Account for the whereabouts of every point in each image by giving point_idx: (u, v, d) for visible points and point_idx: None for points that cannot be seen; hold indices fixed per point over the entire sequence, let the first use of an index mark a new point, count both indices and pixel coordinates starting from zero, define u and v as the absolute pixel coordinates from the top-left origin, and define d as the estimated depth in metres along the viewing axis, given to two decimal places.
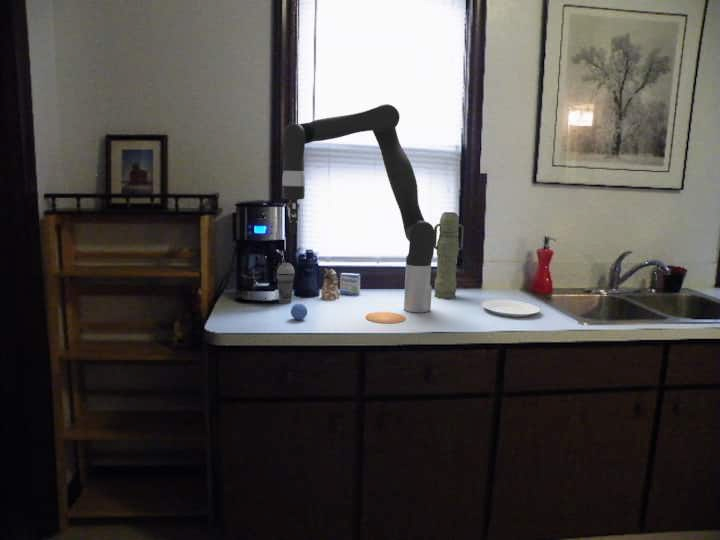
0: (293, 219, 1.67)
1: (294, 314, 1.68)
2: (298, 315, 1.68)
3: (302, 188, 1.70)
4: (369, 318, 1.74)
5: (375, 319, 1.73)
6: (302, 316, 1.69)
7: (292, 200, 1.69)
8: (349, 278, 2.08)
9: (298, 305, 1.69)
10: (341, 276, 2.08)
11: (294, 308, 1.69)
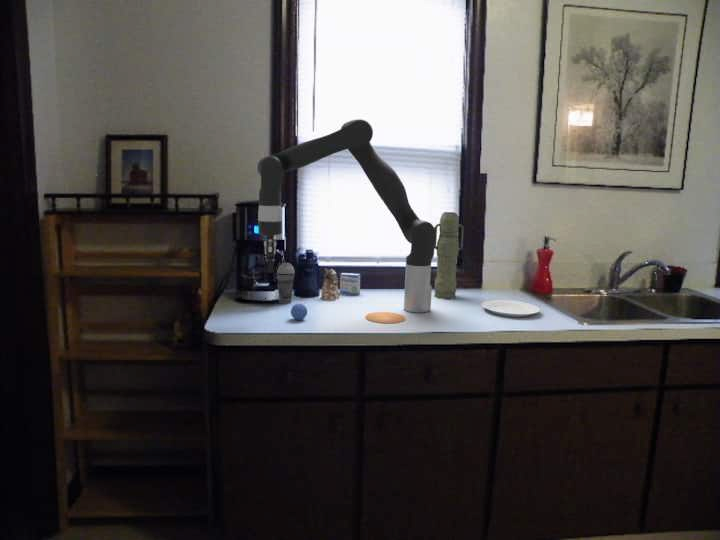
0: (269, 258, 1.63)
1: (294, 314, 1.68)
2: (298, 315, 1.68)
3: (279, 223, 1.62)
4: (369, 318, 1.74)
5: (375, 319, 1.73)
6: (302, 316, 1.69)
7: (268, 236, 1.61)
8: (349, 278, 2.08)
9: (298, 305, 1.69)
10: (341, 276, 2.08)
11: (294, 308, 1.69)
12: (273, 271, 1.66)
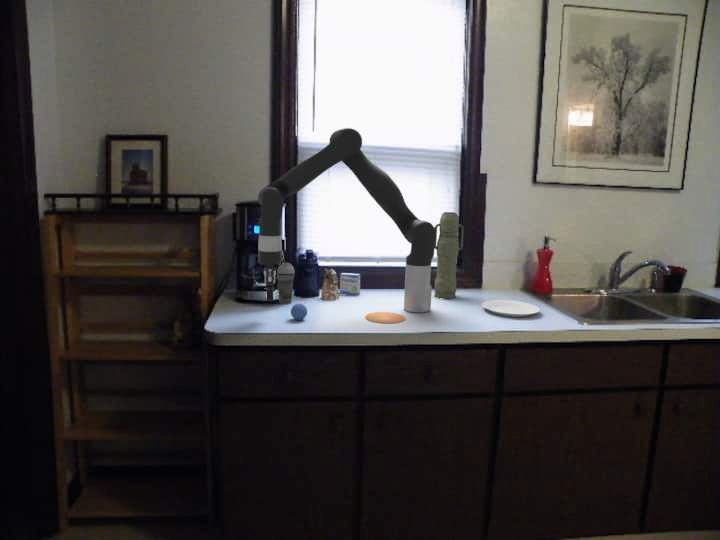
0: (269, 288, 1.64)
1: (294, 314, 1.68)
2: (298, 315, 1.68)
3: (279, 253, 1.64)
4: (369, 318, 1.74)
5: (375, 319, 1.73)
6: (302, 316, 1.69)
7: (268, 266, 1.63)
8: (349, 278, 2.08)
9: (298, 305, 1.69)
10: (341, 276, 2.08)
11: (294, 308, 1.69)
12: None
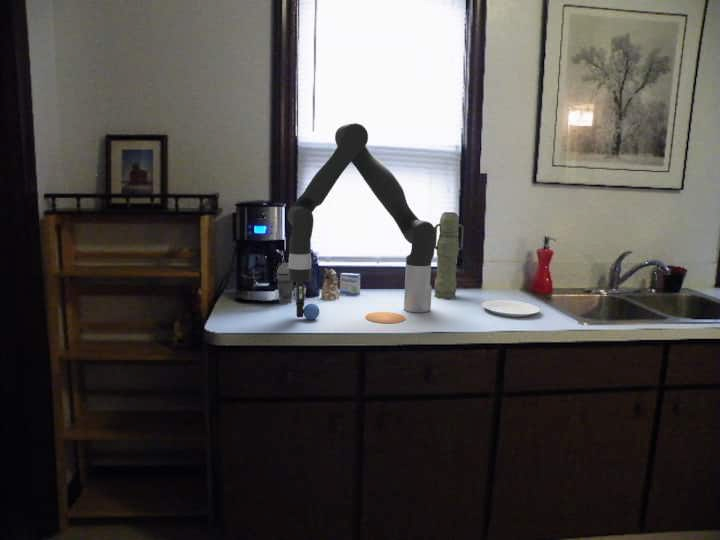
0: (299, 304, 1.67)
1: (309, 309, 1.69)
2: (310, 313, 1.69)
3: (309, 271, 1.67)
4: (369, 318, 1.74)
5: (375, 319, 1.73)
6: (309, 317, 1.69)
7: (299, 284, 1.66)
8: (349, 278, 2.08)
9: (318, 309, 1.71)
10: (341, 276, 2.08)
11: (314, 307, 1.70)
12: None
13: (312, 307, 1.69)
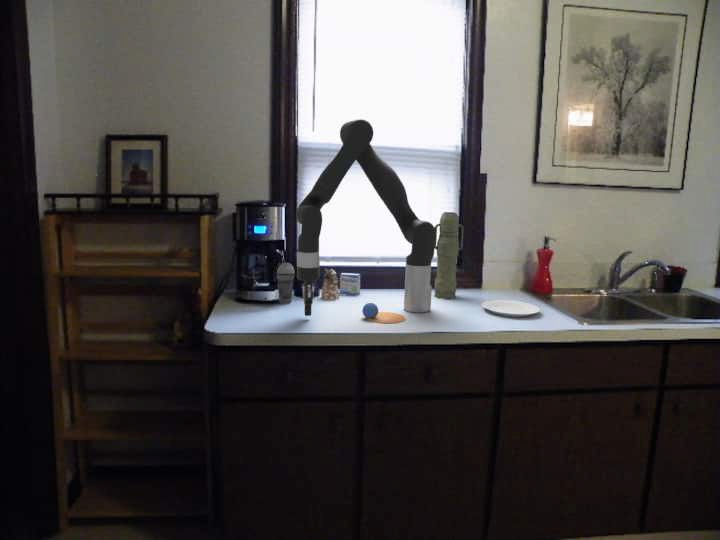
0: (308, 303, 1.68)
1: (374, 308, 1.72)
2: (370, 311, 1.72)
3: (317, 269, 1.67)
4: None
5: (375, 319, 1.73)
6: (367, 312, 1.72)
7: (307, 282, 1.66)
8: (349, 278, 2.08)
9: (376, 315, 1.74)
10: (341, 276, 2.08)
11: (377, 311, 1.73)
12: None
13: (376, 310, 1.73)
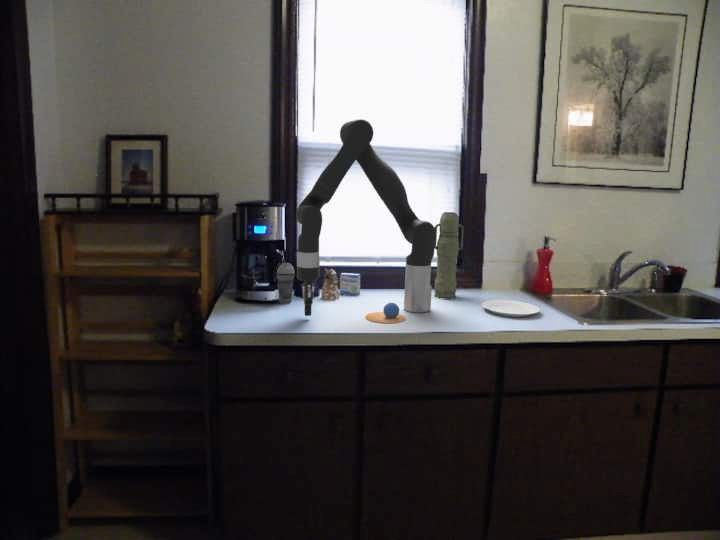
0: (308, 303, 1.68)
1: (391, 316, 1.74)
2: (394, 313, 1.73)
3: (317, 269, 1.67)
4: (369, 318, 1.74)
5: (375, 319, 1.73)
6: (396, 310, 1.73)
7: (307, 282, 1.66)
8: (349, 278, 2.08)
9: (385, 309, 1.74)
10: (341, 276, 2.08)
11: (386, 314, 1.74)
12: None
13: (388, 315, 1.74)
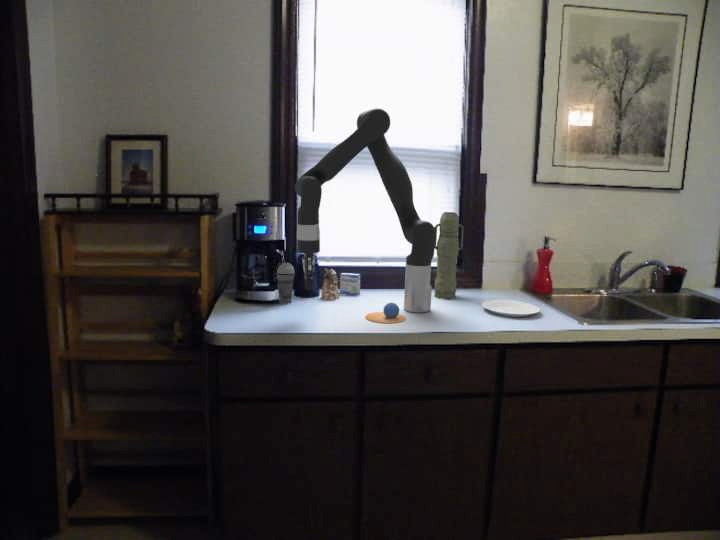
0: (308, 276, 1.66)
1: (391, 316, 1.74)
2: (394, 313, 1.73)
3: (317, 242, 1.65)
4: (369, 318, 1.74)
5: (375, 319, 1.73)
6: (396, 310, 1.73)
7: (308, 255, 1.64)
8: (349, 278, 2.08)
9: (385, 309, 1.74)
10: (341, 276, 2.08)
11: (386, 314, 1.74)
12: None
13: (388, 315, 1.74)
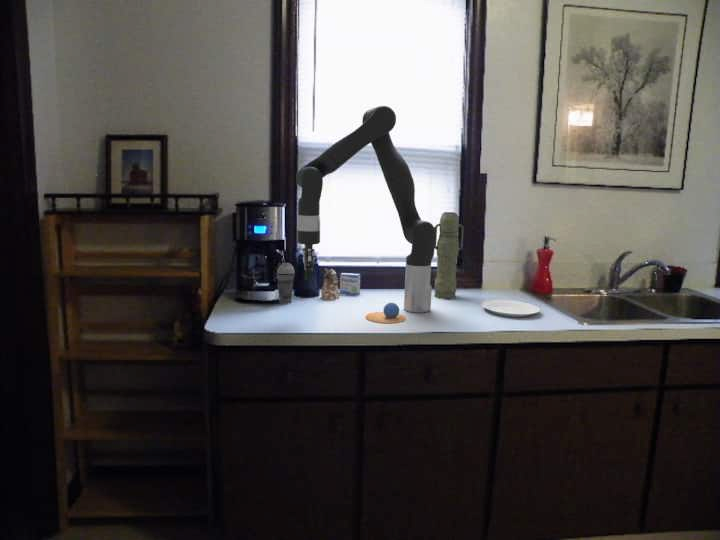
0: (308, 267, 1.65)
1: (391, 316, 1.74)
2: (394, 313, 1.73)
3: (318, 233, 1.65)
4: (369, 318, 1.74)
5: (375, 319, 1.73)
6: (396, 310, 1.73)
7: (308, 246, 1.63)
8: (349, 278, 2.08)
9: (385, 309, 1.74)
10: (341, 276, 2.08)
11: (386, 314, 1.74)
12: None
13: (388, 315, 1.74)
